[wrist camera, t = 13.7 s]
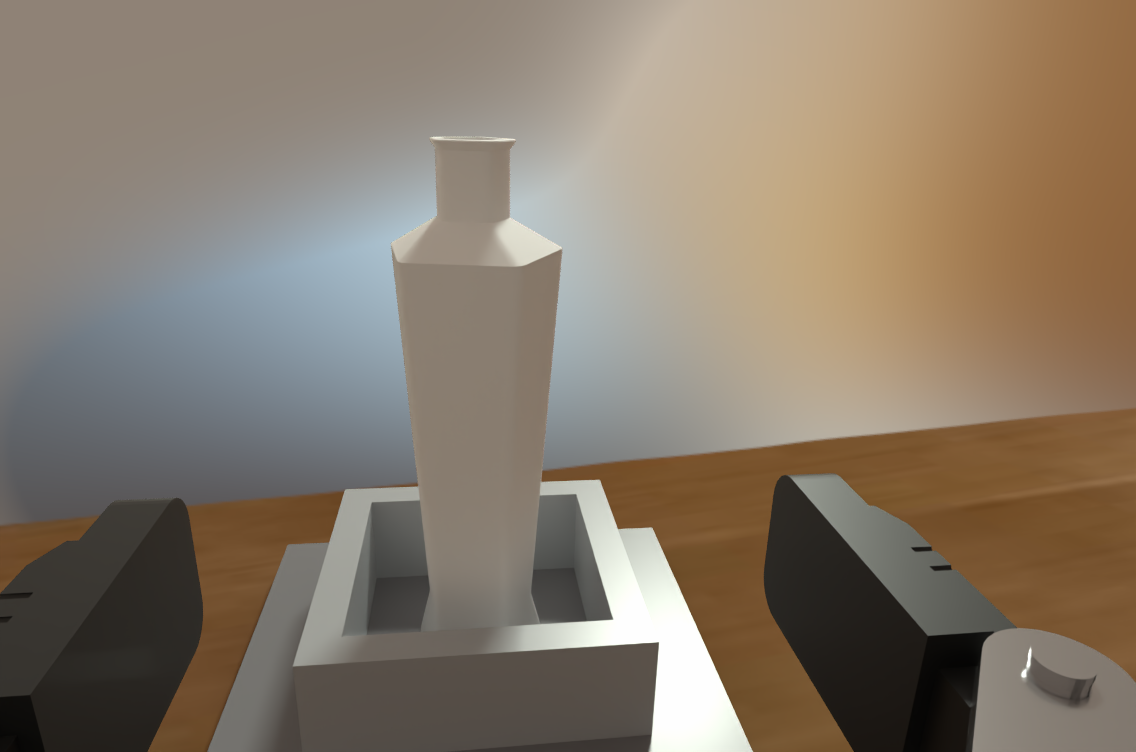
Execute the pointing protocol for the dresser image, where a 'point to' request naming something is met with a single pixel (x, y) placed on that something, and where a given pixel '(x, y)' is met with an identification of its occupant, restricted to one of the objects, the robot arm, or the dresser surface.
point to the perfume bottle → (477, 385)
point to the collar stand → (477, 646)
